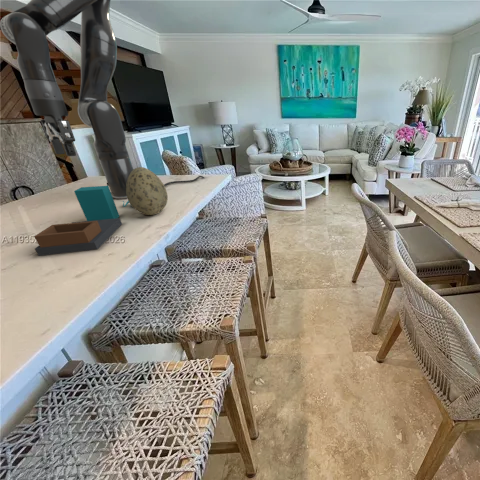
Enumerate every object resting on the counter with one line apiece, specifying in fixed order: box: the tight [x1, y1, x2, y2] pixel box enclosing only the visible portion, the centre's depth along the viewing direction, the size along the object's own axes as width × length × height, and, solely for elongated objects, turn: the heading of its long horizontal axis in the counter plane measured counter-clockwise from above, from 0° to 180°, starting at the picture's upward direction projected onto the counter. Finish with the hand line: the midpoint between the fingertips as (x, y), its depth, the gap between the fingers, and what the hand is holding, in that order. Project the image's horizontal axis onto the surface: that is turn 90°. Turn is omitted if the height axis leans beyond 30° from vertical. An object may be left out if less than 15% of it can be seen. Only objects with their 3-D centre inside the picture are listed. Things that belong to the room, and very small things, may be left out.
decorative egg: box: [126, 166, 169, 216], centre depth 83 cm, size 11×11×15 cm
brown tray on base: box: [33, 217, 123, 257], centre depth 69 cm, size 16×12×5 cm
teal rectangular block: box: [73, 185, 120, 221], centre depth 79 cm, size 4×7×10 cm, turn 105°
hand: (66, 155), depth 85 cm, fingers open, 8 cm apart
